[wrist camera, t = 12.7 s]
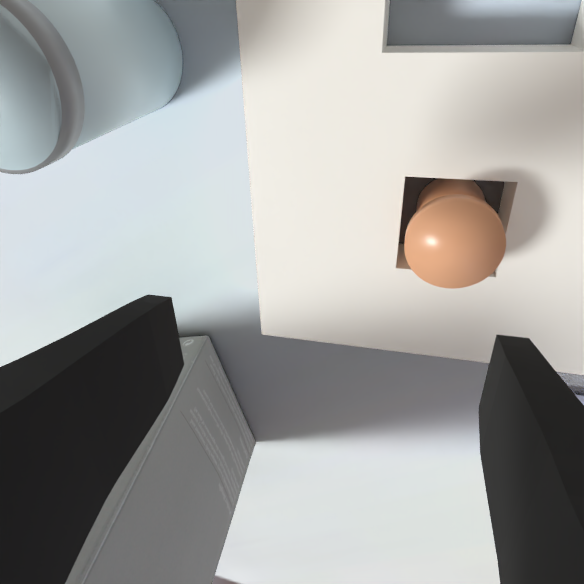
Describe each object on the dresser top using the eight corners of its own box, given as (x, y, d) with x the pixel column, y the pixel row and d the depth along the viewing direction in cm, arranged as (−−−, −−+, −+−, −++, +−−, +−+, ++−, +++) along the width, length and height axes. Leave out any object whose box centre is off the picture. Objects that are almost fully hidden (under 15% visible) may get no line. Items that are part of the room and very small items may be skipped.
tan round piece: (501, 168, 17) (516, 204, 14) (485, 246, 18) (495, 292, 15) (412, 164, 17) (409, 198, 14) (404, 240, 19) (400, 283, 16)
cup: (176, -19, 16) (34, -21, 10) (192, 118, 18) (84, 180, 13) (60, -19, 17) (-130, -20, 11) (89, 112, 19) (-56, 168, 13)
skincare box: (108, 337, 26) (-215, 693, 13) (227, 329, 24) (-22, 753, 11) (166, 446, 30) (-37, 802, 17) (272, 448, 28) (133, 863, 15)
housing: (983, -542, 8) (1115, -666, 7) (612, 346, 19) (629, 380, 18) (234, -385, 11) (201, -446, 10) (273, 308, 22) (261, 334, 21)
